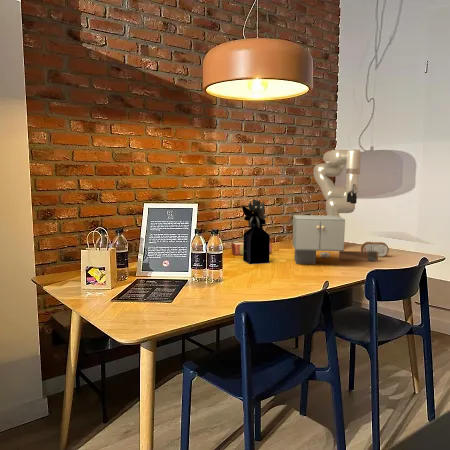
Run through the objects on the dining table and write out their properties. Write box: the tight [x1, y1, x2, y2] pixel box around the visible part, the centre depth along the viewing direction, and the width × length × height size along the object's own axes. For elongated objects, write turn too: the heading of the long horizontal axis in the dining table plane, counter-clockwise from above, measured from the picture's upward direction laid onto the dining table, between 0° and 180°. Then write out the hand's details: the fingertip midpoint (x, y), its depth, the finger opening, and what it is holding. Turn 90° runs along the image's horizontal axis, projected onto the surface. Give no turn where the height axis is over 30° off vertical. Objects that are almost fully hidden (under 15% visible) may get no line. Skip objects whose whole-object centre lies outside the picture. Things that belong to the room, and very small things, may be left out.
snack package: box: [231, 242, 273, 256], centre depth 249 cm, size 22×7×7 cm, turn 106°
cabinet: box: [292, 214, 346, 265], centre depth 225 cm, size 20×24×24 cm
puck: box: [320, 251, 331, 259], centre depth 242 cm, size 5×5×2 cm
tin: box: [360, 241, 390, 258], centre depth 244 cm, size 15×3×8 cm, turn 84°
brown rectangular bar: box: [338, 250, 379, 263], centre depth 232 cm, size 2×20×5 cm, turn 86°
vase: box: [241, 195, 271, 265], centre depth 225 cm, size 14×12×35 cm
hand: (351, 202), depth 243 cm, fingers open, 9 cm apart
